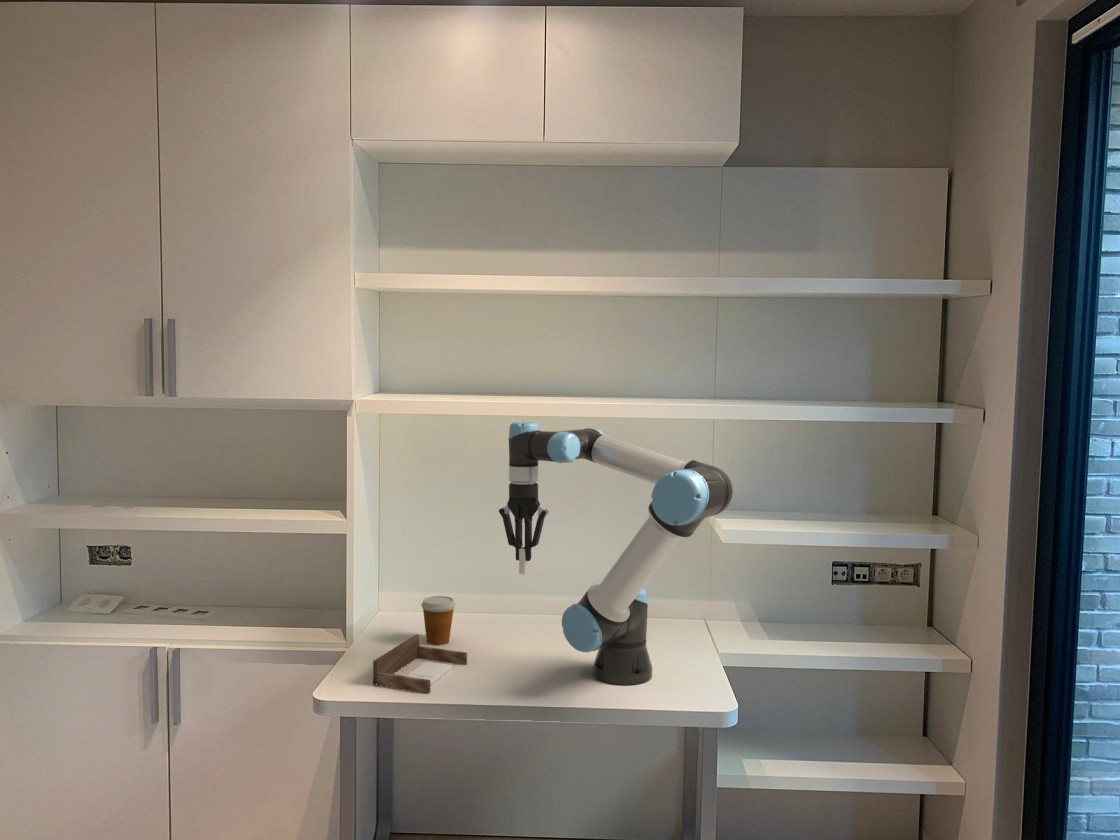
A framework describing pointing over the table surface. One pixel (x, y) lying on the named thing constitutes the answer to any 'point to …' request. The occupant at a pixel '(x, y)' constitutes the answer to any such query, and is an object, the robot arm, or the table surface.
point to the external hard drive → (430, 671)
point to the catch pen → (403, 656)
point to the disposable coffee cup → (438, 618)
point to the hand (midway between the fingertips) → (523, 572)
